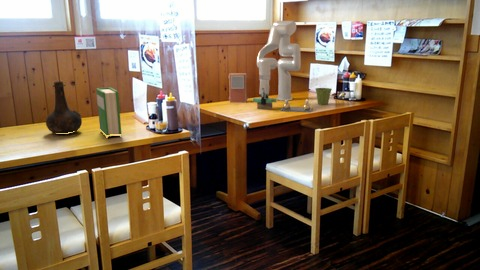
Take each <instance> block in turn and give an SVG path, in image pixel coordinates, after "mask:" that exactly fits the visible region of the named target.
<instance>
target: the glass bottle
mask: <svg viewBox="0 0 480 270" xmlns="http://www.w3.org/2000/svg"><path fill="white" fill-rule="evenodd" d="M53 87H54V100H55V101H54V110H53V112H51V113H49V114H48V115H47V117H46V120H45V125H46V128H47V130H49V132H51V133H53V134H54V133H68V132H73V131H76V132H78V131H79V130H80V128H81V126H82V123H83V120H82V115H81V113H79V112H78V111H76V110H71V109H70V107H69V106H68V102H67V98H66V94H65V89H64V87H66V84H64V81H61V80H60V81H54V83H53V85H52V88H53ZM78 129H79V130H78ZM77 130H78V131H77Z"/></svg>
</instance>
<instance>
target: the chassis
mask: <svg viewBox="0 0 480 270" xmlns="http://www.w3.org/2000/svg"><path fill="white" fill-rule="evenodd" d="M312 110H314V109H313V107H311V104H310V103H309V99H306V100H305V103H304V104H303V106H301V107H300V106H291V103H290V102H289V100H288V99H287V100H285V102H284V104H283V107H282V108H280V110H279V111H280V112H292V113H293V112H295V113H312Z"/></svg>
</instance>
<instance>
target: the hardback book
mask: <svg viewBox="0 0 480 270" xmlns="http://www.w3.org/2000/svg"><path fill="white" fill-rule="evenodd" d="M95 91H96V100H97V111H98V121H99V130H100V129H101V130H102V131H103V132H104V133H105V134H106V135H110V134H122V126H121V125H122V124H121V114H120V113H121V111H120V101H119V99H120V98H119V91H118V90H116V89H114V88H112V87H97V88H95Z"/></svg>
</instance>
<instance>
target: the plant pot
mask: <svg viewBox="0 0 480 270" xmlns="http://www.w3.org/2000/svg"><path fill="white" fill-rule="evenodd" d="M332 90H333V89H332V88H331V87H330V88H329V87H317V88H315V93H316V98H317V99H316V101H317V105H320V106H323V105H324V106H327V105H329V101H330V97H331V93H332Z"/></svg>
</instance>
